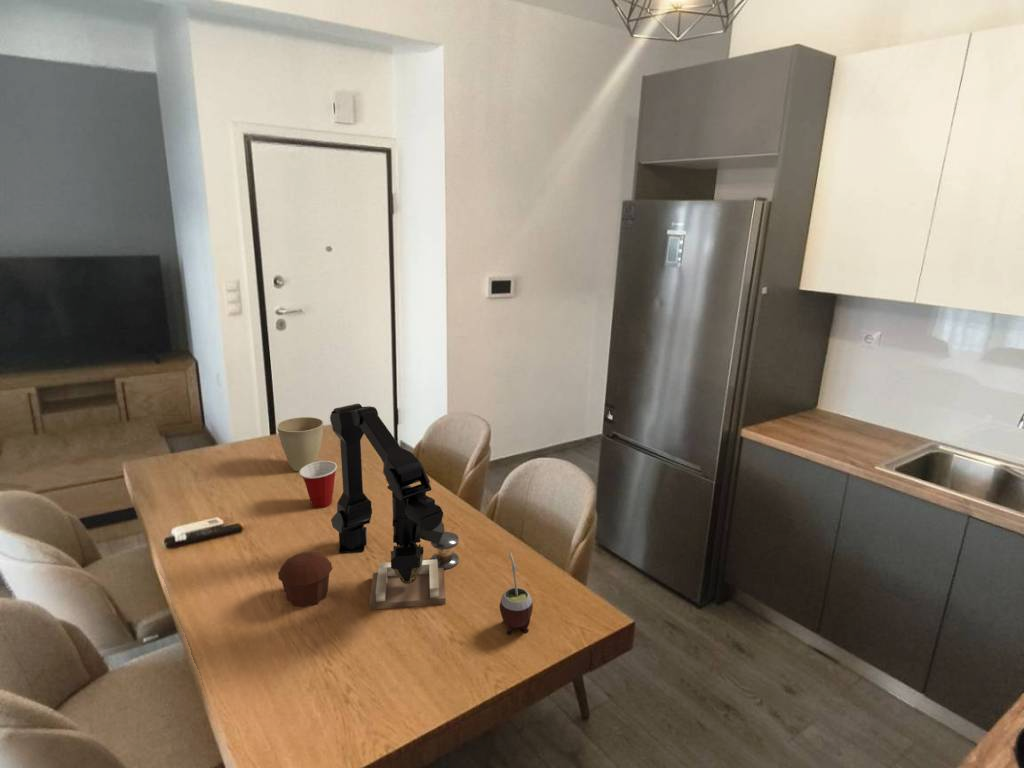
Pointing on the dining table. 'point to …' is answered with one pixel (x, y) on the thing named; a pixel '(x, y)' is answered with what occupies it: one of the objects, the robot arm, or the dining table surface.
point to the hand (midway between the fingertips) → (407, 572)
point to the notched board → (407, 587)
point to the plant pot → (301, 440)
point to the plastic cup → (319, 482)
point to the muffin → (305, 578)
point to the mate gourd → (516, 606)
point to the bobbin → (446, 551)
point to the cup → (414, 570)
